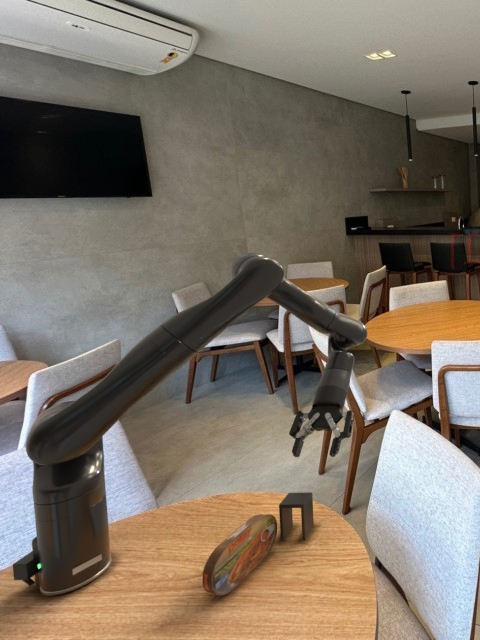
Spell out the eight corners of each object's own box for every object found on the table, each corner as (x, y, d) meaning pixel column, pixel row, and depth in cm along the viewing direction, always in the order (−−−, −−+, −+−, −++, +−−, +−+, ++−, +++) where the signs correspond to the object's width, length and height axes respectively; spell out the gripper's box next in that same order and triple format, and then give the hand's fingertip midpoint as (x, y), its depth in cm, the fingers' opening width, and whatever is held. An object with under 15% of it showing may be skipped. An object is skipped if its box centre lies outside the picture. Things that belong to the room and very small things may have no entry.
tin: (214, 608, 72) (212, 562, 71) (199, 605, 72) (197, 559, 72) (279, 543, 86) (277, 505, 86) (266, 541, 87) (265, 503, 87)
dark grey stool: (280, 540, 87) (278, 504, 87) (290, 527, 91) (288, 492, 91) (305, 540, 87) (303, 504, 87) (313, 526, 91) (312, 492, 91)
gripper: (300, 384, 105) (277, 451, 94) (355, 383, 105) (339, 451, 95) (310, 396, 111) (290, 461, 100) (363, 395, 111) (348, 460, 100)
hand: (314, 456), depth 97 cm, fingers open, 8 cm apart
